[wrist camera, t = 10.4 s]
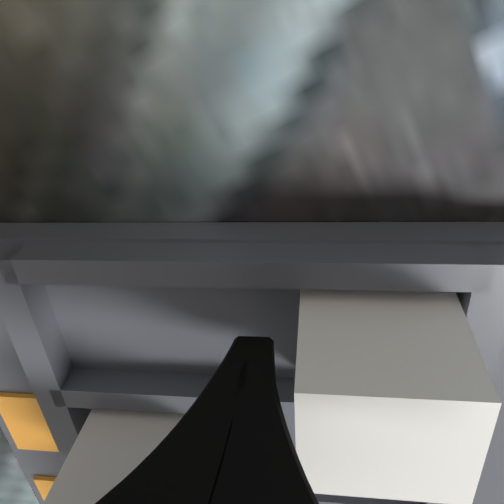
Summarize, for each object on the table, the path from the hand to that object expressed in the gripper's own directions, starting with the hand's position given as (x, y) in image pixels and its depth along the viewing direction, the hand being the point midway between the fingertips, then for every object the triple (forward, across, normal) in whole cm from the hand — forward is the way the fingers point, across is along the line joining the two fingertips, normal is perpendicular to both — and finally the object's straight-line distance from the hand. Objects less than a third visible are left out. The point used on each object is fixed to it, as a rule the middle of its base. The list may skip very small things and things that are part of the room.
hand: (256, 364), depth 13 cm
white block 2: (+2, -3, 0) cm, 4 cm away
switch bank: (+3, 0, +5) cm, 6 cm away
